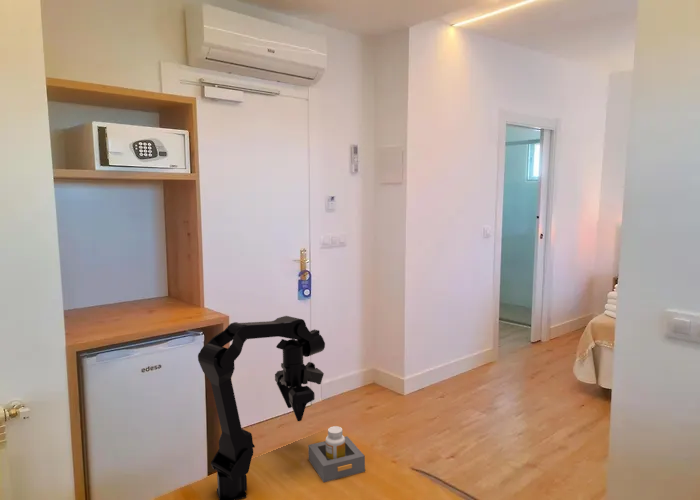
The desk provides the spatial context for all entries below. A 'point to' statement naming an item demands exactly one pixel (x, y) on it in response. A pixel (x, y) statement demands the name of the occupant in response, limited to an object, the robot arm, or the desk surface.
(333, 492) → the desk surface
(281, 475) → the desk surface
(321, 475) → the socket block
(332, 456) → the supplement bottle
